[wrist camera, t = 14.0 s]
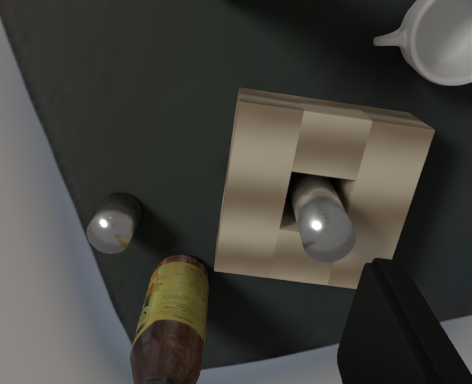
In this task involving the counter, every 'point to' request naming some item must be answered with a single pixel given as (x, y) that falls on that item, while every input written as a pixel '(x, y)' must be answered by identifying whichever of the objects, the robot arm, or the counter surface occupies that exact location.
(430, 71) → the teacup
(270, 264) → the hole block
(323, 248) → the long pin
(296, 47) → the counter surface
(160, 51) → the counter surface
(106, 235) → the short pin
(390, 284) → the robot arm
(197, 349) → the sauce bottle
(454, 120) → the counter surface
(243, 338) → the counter surface
